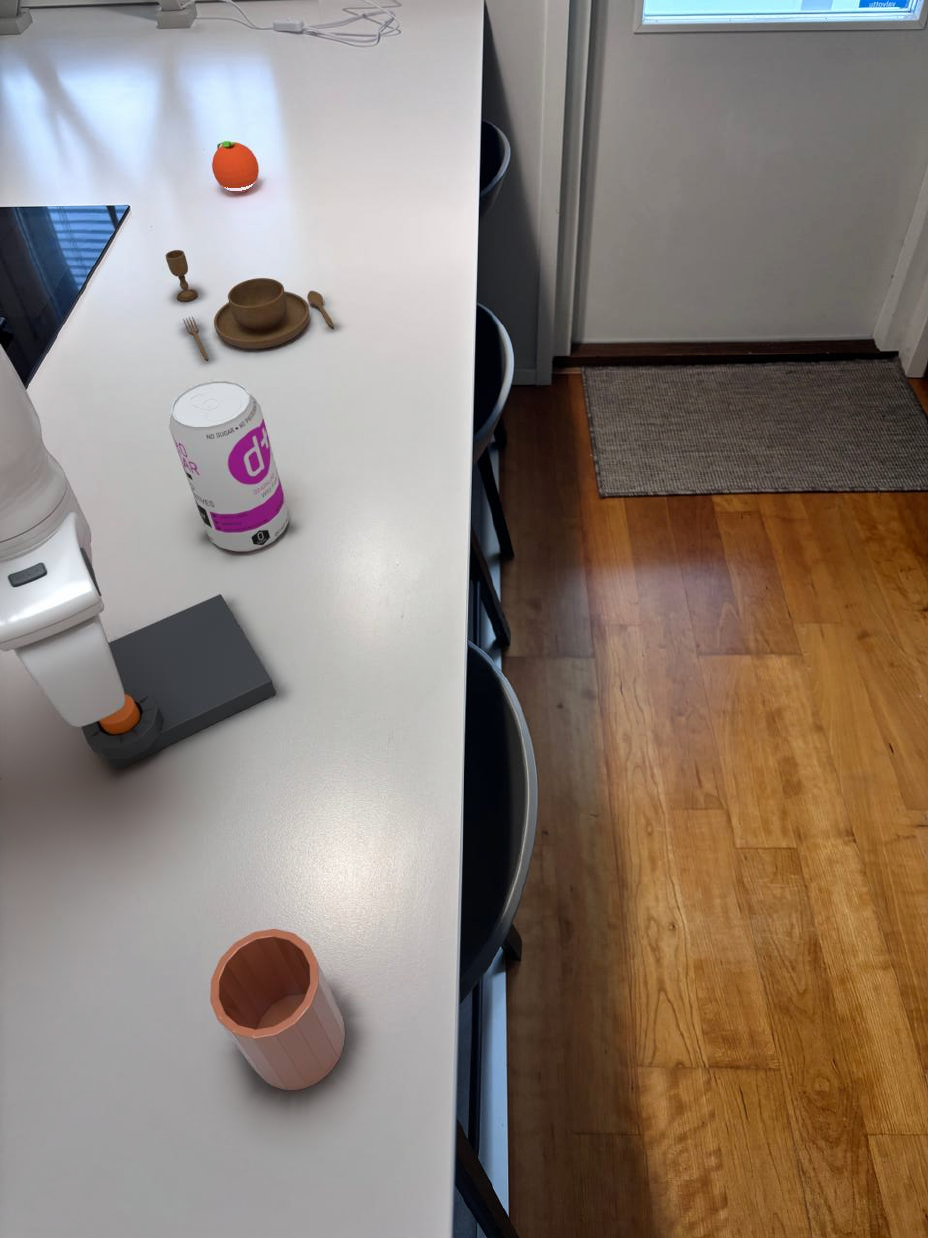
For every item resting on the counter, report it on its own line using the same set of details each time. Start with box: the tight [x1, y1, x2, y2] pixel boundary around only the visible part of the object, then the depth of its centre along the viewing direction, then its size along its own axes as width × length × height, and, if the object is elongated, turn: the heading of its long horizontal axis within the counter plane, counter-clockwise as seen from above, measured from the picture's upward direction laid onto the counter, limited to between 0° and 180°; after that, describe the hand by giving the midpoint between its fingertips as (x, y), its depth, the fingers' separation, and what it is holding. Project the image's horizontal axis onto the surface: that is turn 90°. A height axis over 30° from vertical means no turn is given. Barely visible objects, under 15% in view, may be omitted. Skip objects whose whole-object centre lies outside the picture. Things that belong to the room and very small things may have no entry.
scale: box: [81, 593, 277, 770], centre depth 81 cm, size 15×13×4 cm
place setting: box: [165, 249, 335, 361], centre depth 120 cm, size 18×20×6 cm
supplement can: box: [168, 379, 290, 553], centre depth 90 cm, size 8×8×15 cm
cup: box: [209, 928, 346, 1091], centre depth 58 cm, size 6×6×10 cm
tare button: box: [99, 694, 140, 735], centre depth 76 cm, size 3×3×2 cm
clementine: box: [211, 140, 260, 194], centre depth 145 cm, size 8×7×7 cm
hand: (87, 670), depth 71 cm, fingers closed
